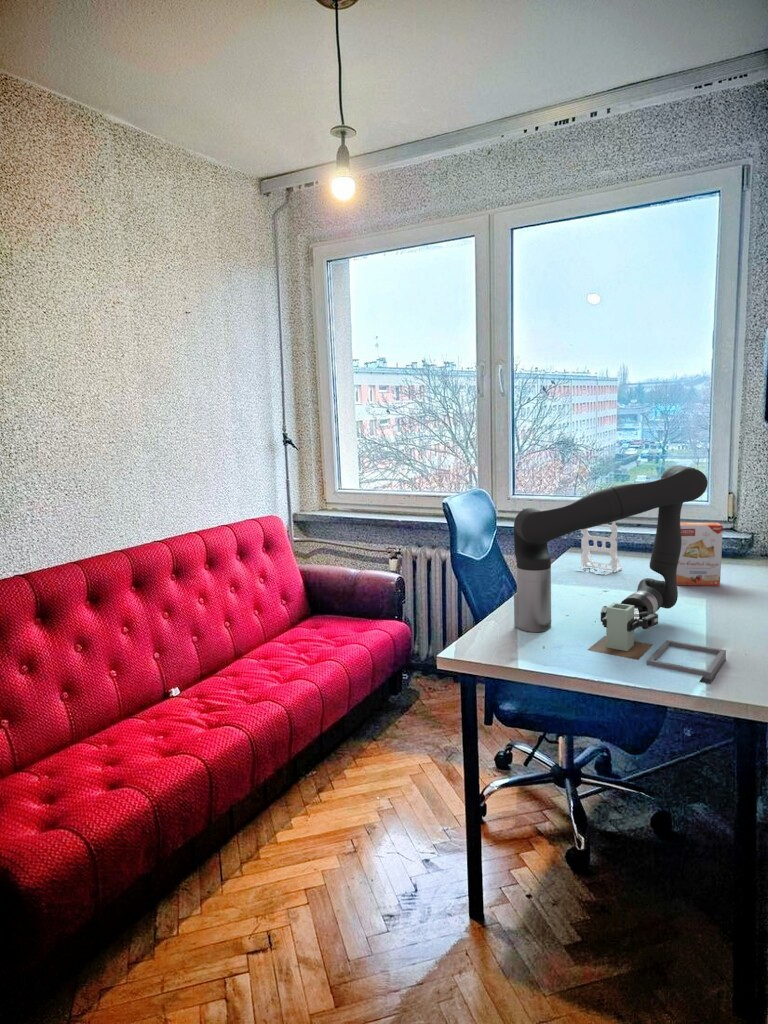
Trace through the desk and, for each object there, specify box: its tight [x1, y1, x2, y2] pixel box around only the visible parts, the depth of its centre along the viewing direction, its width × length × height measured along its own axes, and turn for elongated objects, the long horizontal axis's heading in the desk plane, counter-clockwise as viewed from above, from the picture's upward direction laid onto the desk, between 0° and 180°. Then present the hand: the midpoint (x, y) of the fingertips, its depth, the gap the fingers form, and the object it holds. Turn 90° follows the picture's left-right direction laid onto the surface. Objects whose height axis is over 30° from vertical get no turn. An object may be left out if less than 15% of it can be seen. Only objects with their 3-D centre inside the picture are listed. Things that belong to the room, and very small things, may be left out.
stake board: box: [587, 635, 654, 660], centre depth 151 cm, size 12×12×10 cm
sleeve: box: [605, 602, 635, 651], centre depth 151 cm, size 5×5×10 cm
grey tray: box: [646, 639, 727, 685], centre depth 143 cm, size 13×16×2 cm
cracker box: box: [676, 522, 724, 587], centre depth 210 cm, size 14×6×21 cm, turn 76°
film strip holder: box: [574, 521, 623, 576], centre depth 235 cm, size 14×14×20 cm
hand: (616, 625), depth 149 cm, fingers closed on sleeve, 5 cm apart
